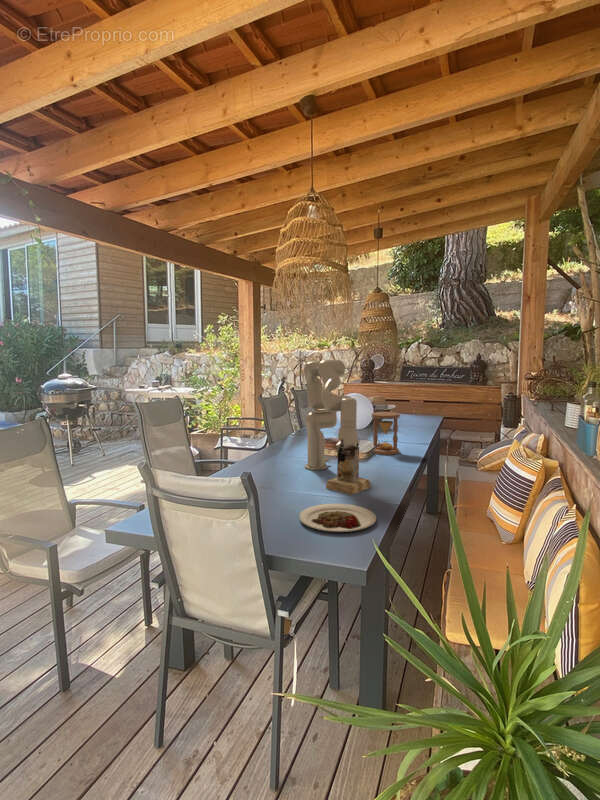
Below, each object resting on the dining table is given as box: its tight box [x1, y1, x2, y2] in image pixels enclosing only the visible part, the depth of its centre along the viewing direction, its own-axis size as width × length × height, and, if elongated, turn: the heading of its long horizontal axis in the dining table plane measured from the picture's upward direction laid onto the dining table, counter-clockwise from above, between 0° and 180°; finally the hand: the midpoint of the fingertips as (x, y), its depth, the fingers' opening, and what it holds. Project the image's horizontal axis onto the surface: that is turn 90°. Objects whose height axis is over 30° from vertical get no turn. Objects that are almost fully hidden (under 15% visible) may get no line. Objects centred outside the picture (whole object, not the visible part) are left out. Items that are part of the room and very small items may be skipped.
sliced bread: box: [325, 477, 371, 496], centre depth 228 cm, size 15×15×4 cm
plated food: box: [299, 503, 377, 533], centre depth 186 cm, size 30×30×3 cm
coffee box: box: [336, 446, 360, 482], centre depth 227 cm, size 9×6×16 cm
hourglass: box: [371, 411, 400, 456], centre depth 304 cm, size 18×18×25 cm
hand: (347, 459), depth 227 cm, fingers open, 9 cm apart
